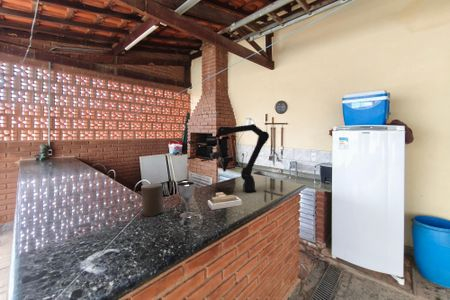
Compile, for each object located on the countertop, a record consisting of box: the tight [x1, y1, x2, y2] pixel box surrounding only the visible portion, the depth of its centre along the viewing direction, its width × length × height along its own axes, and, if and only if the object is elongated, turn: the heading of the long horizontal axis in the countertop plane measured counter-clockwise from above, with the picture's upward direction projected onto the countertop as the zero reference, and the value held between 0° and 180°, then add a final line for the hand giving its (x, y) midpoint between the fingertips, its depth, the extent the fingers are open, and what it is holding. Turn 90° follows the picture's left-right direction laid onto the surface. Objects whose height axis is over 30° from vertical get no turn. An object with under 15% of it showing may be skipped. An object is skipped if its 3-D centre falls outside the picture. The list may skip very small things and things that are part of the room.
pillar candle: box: [140, 182, 165, 217], centre depth 101 cm, size 10×10×15 cm
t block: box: [211, 191, 237, 204], centre depth 112 cm, size 11×12×4 cm
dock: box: [207, 195, 243, 211], centre depth 108 cm, size 16×8×2 cm, turn 108°
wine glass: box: [176, 180, 196, 219], centre depth 96 cm, size 8×8×15 cm
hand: (224, 171), depth 131 cm, fingers closed
